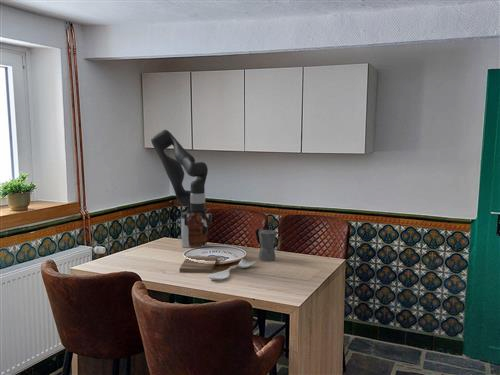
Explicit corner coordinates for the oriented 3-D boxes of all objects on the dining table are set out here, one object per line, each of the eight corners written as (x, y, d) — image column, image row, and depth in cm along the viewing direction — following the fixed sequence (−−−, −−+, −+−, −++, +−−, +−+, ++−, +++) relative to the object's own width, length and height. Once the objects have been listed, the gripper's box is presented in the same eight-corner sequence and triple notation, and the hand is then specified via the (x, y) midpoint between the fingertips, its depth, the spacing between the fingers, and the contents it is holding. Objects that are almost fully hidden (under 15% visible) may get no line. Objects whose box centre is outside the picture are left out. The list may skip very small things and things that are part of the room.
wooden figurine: (197, 248, 241) (197, 212, 239) (186, 246, 244) (186, 211, 242) (209, 243, 252) (209, 208, 249) (199, 241, 255) (198, 207, 252)
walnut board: (187, 259, 261) (187, 256, 260) (217, 260, 260) (217, 256, 260) (179, 272, 239) (179, 268, 239) (211, 272, 238) (211, 268, 238)
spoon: (257, 266, 249) (257, 260, 248) (219, 284, 222) (219, 277, 222) (242, 264, 254) (242, 257, 253) (203, 280, 227) (203, 273, 227)
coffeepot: (282, 259, 260) (282, 227, 258) (269, 263, 254) (270, 229, 251) (261, 254, 271) (261, 222, 269) (249, 257, 265) (249, 225, 262)
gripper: (182, 202, 242) (182, 235, 244) (210, 203, 241) (211, 235, 243) (185, 200, 249) (185, 231, 251) (212, 200, 248) (213, 232, 251)
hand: (198, 233), depth 247 cm, fingers closed on wooden figurine, 7 cm apart
